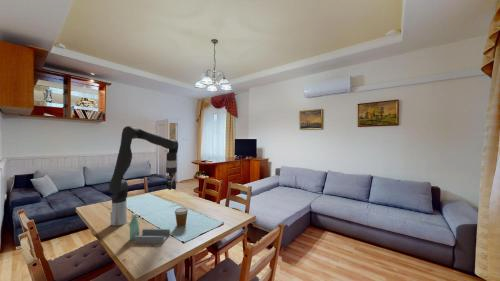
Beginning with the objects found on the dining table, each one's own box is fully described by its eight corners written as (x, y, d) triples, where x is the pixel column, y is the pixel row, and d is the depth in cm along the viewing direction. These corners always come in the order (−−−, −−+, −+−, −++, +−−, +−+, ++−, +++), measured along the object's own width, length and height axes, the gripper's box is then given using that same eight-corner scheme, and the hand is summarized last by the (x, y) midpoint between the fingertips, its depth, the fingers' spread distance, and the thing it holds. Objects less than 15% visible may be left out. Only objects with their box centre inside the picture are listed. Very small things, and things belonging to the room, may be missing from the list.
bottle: (128, 240, 126) (127, 215, 126) (133, 236, 131) (132, 212, 131) (136, 240, 126) (135, 215, 126) (140, 236, 131) (140, 212, 131)
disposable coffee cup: (176, 222, 152) (176, 207, 152) (189, 222, 153) (189, 207, 152) (172, 228, 142) (172, 212, 142) (186, 228, 143) (186, 212, 143)
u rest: (134, 242, 124) (134, 236, 123) (143, 234, 134) (143, 228, 134) (163, 243, 123) (162, 237, 123) (169, 234, 134) (169, 229, 134)
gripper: (168, 164, 152) (168, 185, 153) (163, 168, 138) (163, 190, 139) (178, 164, 154) (178, 185, 154) (174, 168, 140) (174, 190, 140)
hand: (171, 187), depth 146 cm, fingers open, 8 cm apart
